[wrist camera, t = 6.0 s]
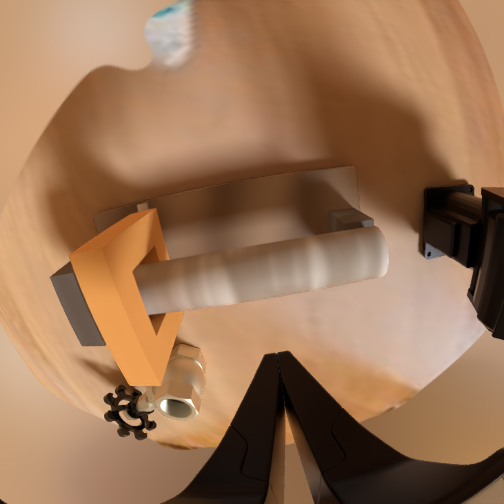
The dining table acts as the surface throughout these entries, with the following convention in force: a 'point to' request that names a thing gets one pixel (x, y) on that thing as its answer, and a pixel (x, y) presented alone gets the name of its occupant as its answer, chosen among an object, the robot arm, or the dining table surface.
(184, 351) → the valve
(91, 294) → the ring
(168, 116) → the dining table surface
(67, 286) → the pipe stand
